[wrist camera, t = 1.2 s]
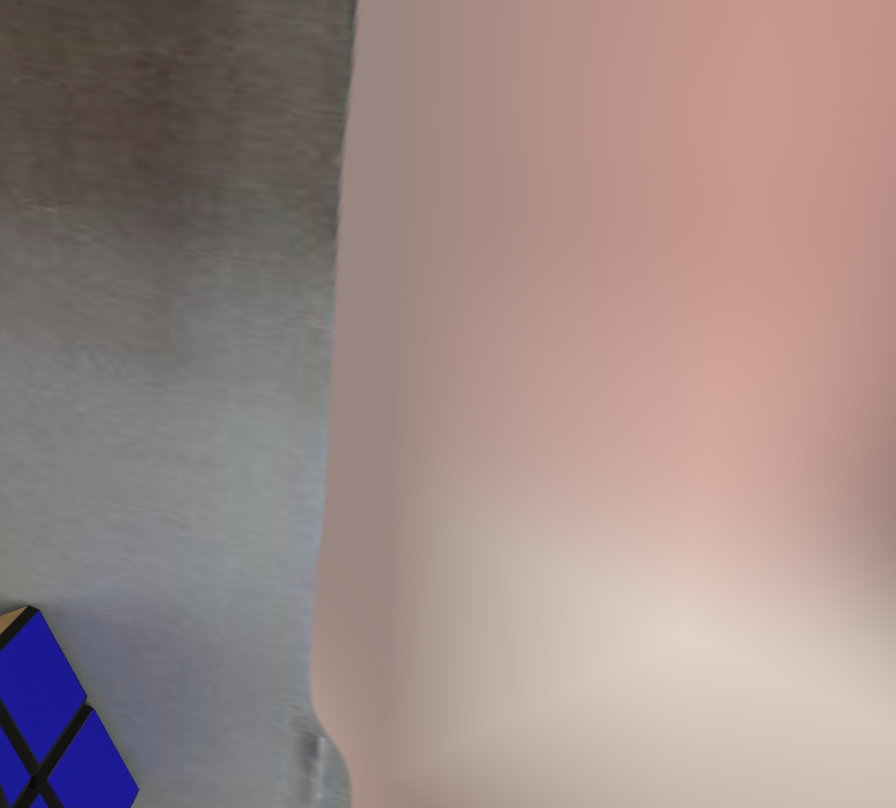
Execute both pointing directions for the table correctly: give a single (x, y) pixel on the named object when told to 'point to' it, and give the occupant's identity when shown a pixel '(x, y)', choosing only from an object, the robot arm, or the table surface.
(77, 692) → the puzzle cube
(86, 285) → the table surface
